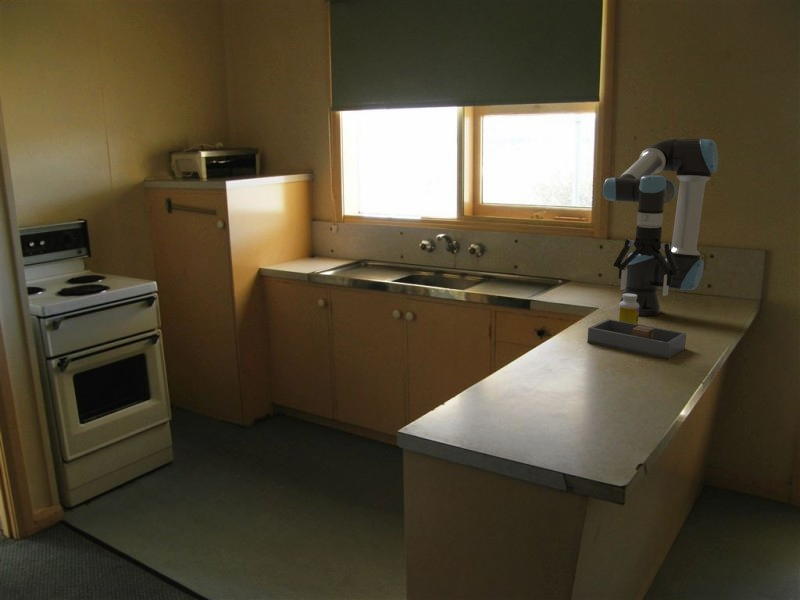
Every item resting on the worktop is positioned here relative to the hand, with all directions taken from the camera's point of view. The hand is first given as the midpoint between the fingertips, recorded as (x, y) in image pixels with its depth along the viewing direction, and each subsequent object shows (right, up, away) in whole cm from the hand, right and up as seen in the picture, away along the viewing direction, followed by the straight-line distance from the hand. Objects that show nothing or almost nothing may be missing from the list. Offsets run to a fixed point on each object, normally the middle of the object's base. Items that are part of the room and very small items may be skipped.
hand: (643, 292), depth 223 cm
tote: (-2, -17, +1) cm, 17 cm away
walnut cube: (-1, -16, -1) cm, 16 cm away
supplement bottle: (0, -13, +17) cm, 22 cm away
